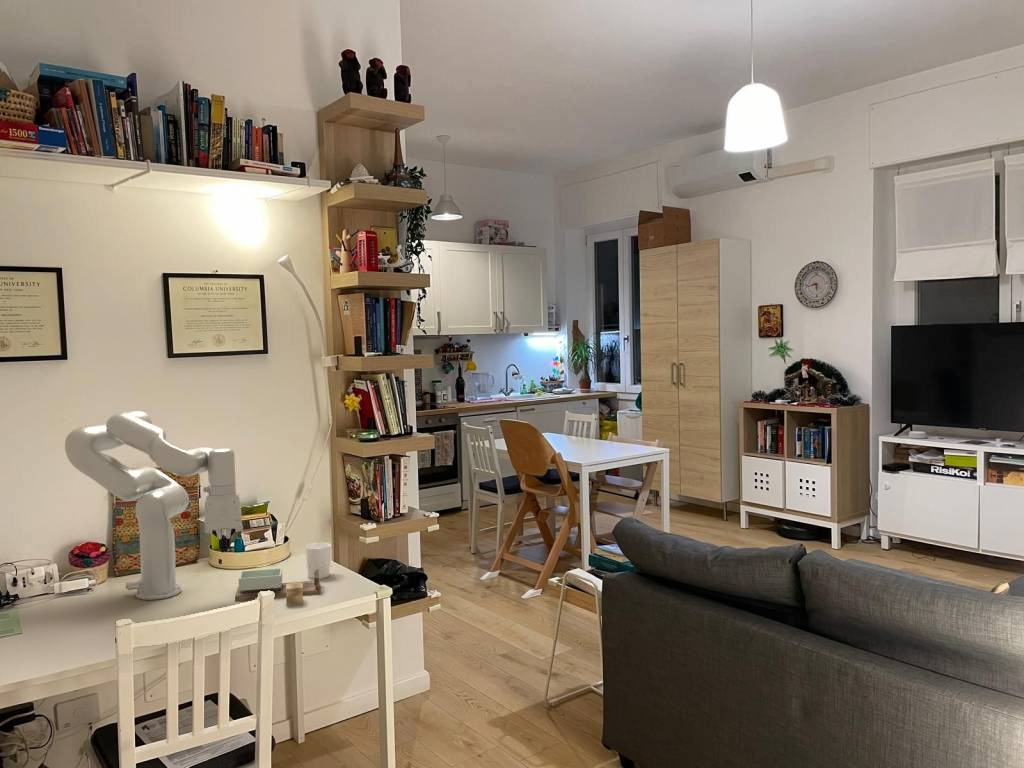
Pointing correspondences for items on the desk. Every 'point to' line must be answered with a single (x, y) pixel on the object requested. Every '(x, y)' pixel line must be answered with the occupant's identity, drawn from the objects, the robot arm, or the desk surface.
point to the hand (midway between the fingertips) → (224, 551)
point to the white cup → (318, 559)
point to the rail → (282, 589)
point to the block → (294, 594)
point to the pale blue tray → (260, 579)
